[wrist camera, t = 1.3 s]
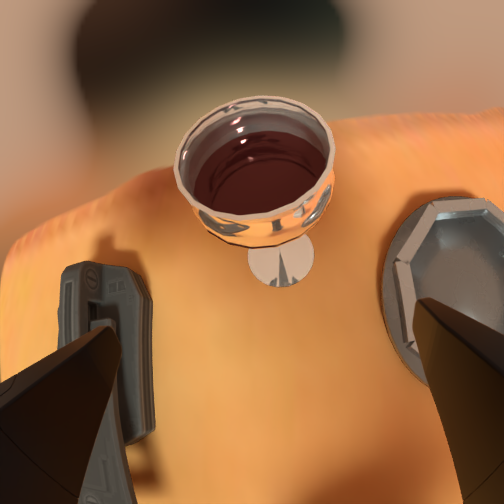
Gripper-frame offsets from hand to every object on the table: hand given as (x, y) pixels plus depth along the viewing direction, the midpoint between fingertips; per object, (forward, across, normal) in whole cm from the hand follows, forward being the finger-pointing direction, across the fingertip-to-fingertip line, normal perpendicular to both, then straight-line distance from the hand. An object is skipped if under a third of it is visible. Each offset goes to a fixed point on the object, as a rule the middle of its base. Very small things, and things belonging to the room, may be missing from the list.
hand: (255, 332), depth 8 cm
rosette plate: (+11, -15, +8) cm, 20 cm away
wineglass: (+14, 0, +4) cm, 15 cm away
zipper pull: (+6, +14, +13) cm, 20 cm away
